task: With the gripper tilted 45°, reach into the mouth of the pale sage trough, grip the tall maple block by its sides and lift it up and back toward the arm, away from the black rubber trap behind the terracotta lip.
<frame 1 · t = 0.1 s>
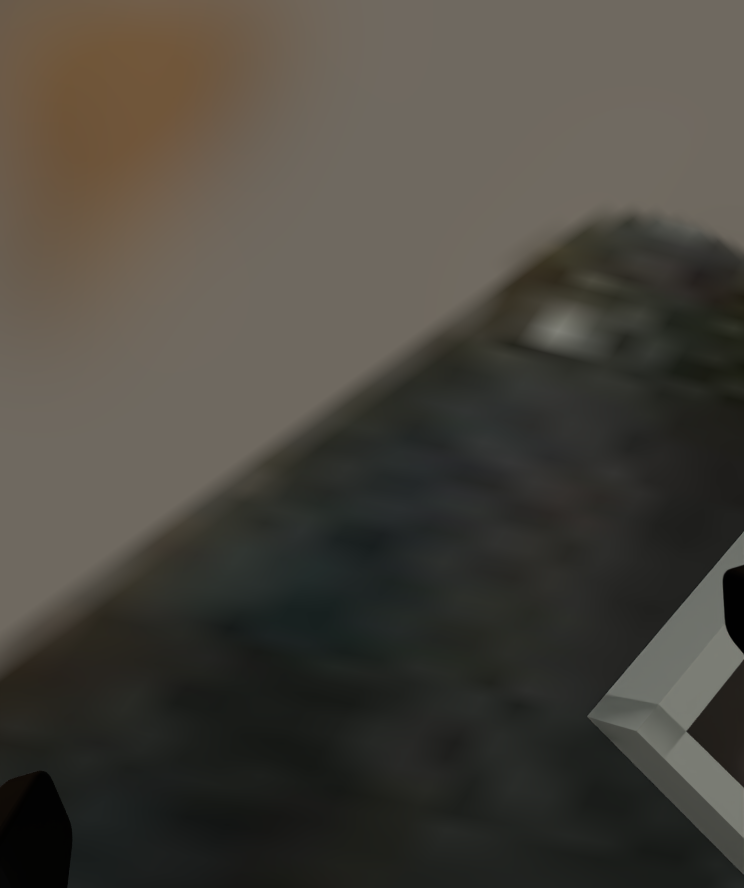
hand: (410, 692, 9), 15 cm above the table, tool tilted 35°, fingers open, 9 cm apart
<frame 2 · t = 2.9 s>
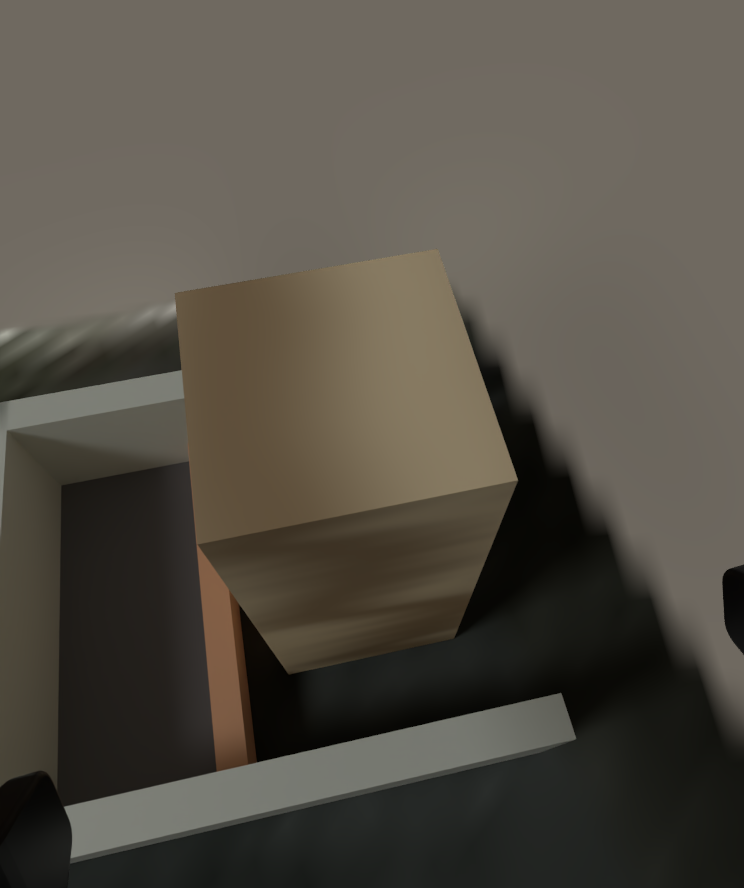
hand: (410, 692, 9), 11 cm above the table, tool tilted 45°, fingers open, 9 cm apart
trap trough: (260, 595, 21), on the table
maple block: (355, 576, 21), on the table
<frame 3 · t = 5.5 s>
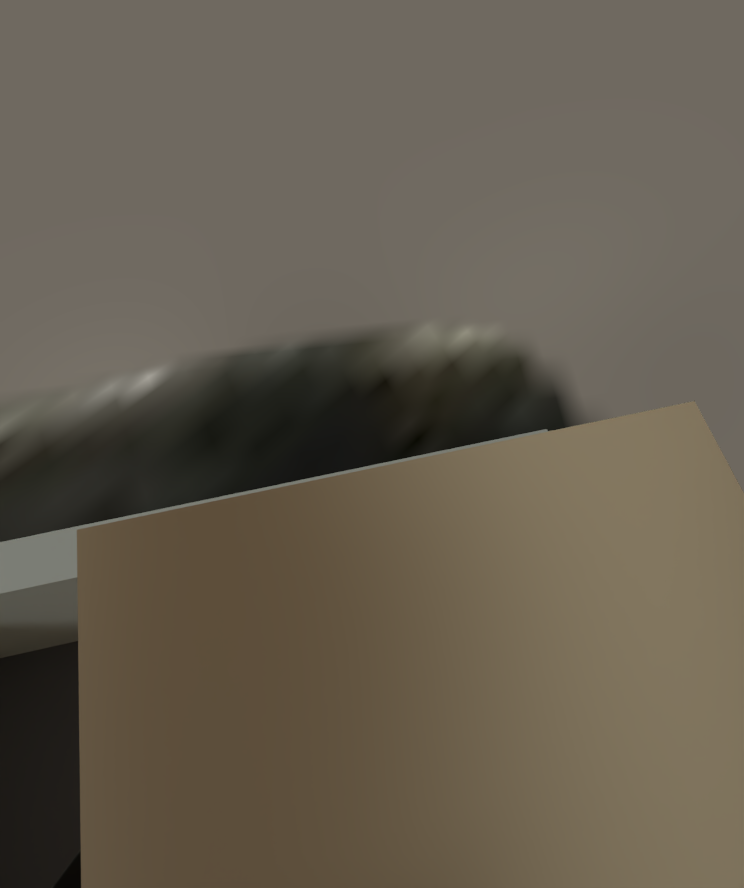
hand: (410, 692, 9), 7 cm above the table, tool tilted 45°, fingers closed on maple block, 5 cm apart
trap trough: (274, 850, 14), on the table
maple block: (419, 812, 14), on the table, touching gripper
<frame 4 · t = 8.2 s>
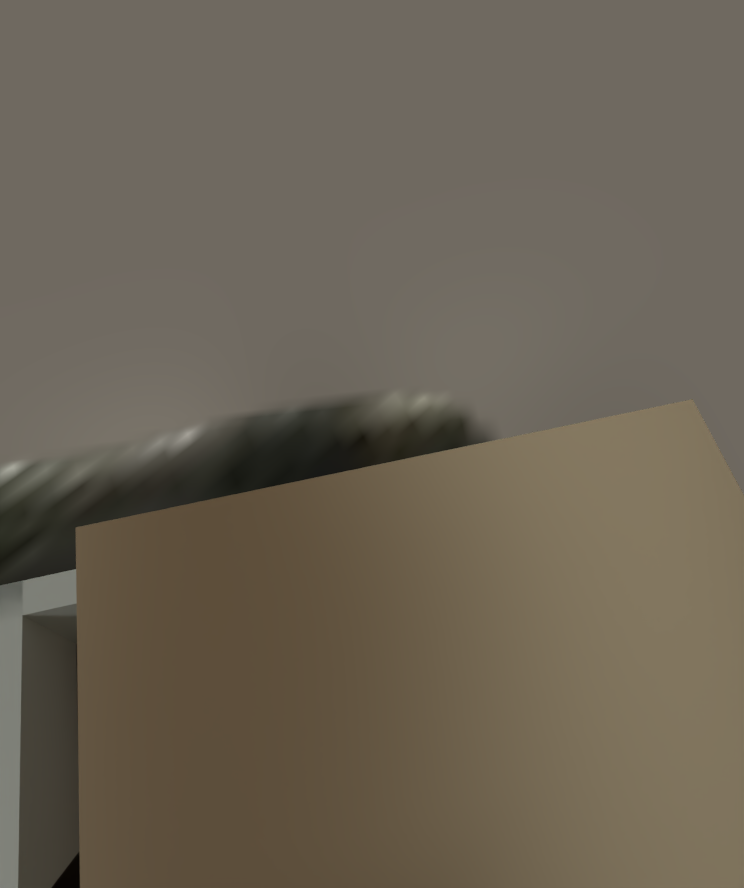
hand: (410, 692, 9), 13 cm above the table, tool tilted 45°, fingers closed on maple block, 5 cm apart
trap trough: (285, 764, 20), on the table
maple block: (418, 811, 14), point 7 cm above the table, touching gripper
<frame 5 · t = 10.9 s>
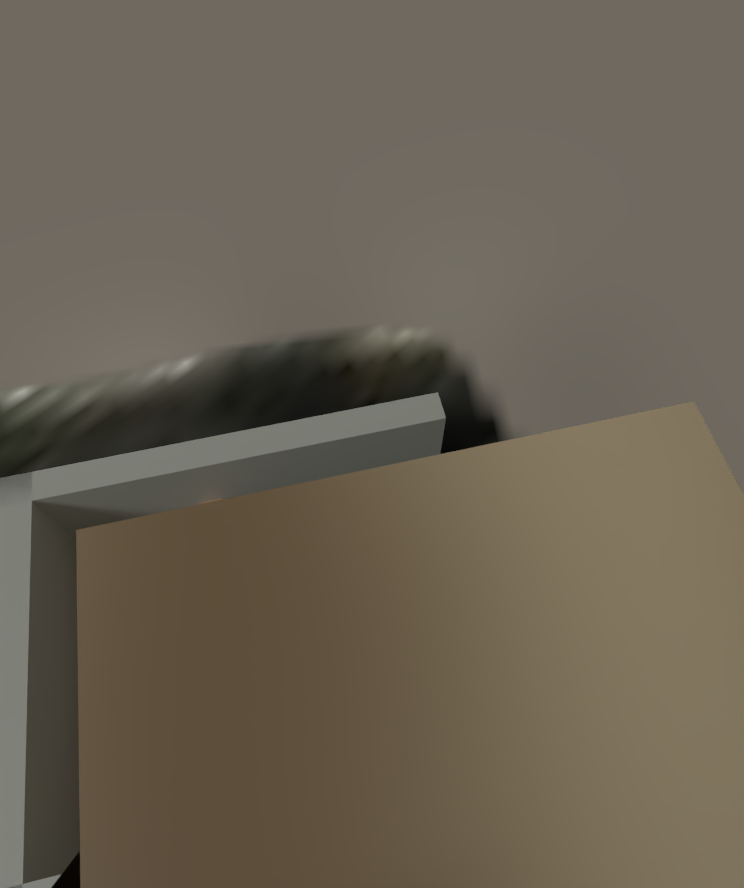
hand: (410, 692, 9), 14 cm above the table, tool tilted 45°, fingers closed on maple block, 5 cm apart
trap trough: (270, 648, 22), on the table
maple block: (418, 812, 14), point 7 cm above the table, touching gripper
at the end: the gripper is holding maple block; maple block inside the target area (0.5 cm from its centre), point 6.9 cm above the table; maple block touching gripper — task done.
